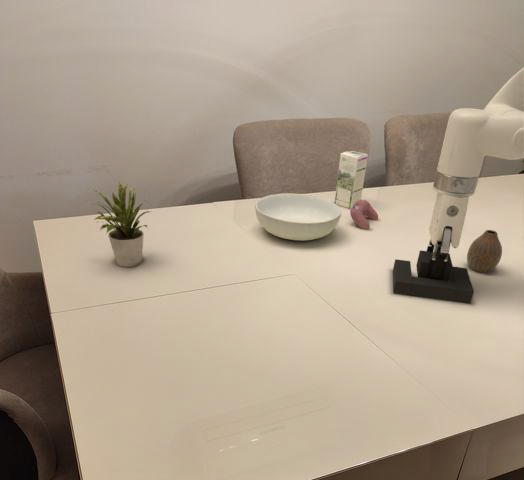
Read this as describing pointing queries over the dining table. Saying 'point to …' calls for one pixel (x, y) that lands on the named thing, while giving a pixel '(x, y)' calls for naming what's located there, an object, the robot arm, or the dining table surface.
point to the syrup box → (350, 178)
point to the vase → (485, 252)
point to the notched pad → (432, 284)
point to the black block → (424, 262)
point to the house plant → (124, 228)
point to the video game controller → (363, 213)
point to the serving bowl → (297, 216)
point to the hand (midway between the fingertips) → (432, 270)
